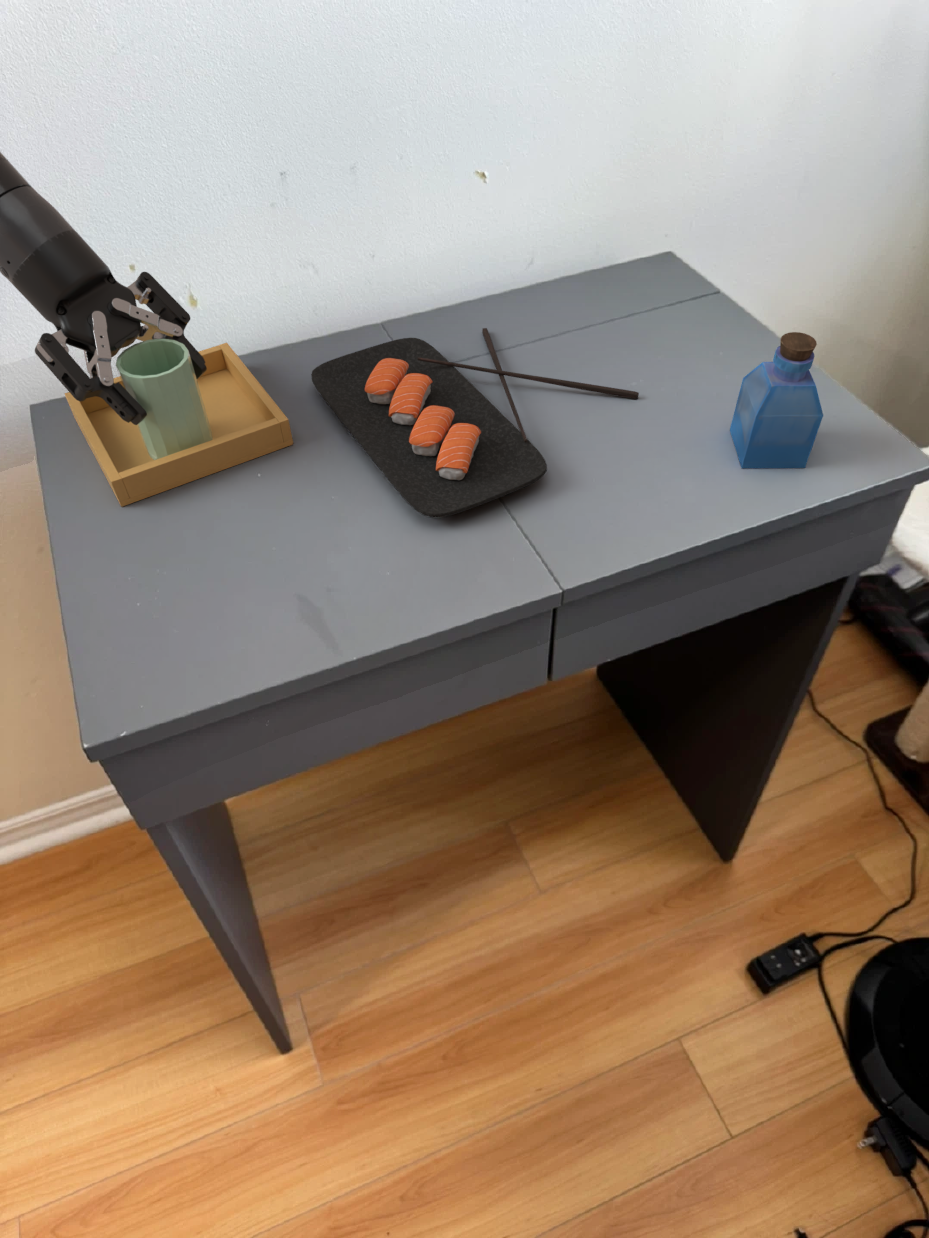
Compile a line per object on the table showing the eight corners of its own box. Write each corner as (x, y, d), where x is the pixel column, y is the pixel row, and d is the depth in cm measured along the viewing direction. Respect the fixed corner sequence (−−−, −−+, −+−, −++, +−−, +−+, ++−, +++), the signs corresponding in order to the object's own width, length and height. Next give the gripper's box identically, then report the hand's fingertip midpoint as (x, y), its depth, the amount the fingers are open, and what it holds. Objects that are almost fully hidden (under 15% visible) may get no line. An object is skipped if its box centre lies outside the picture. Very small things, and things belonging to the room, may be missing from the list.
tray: (121, 507, 84) (110, 482, 81) (74, 418, 93) (64, 393, 91) (293, 444, 90) (288, 419, 87) (232, 366, 99) (226, 342, 97)
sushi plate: (303, 383, 97) (298, 353, 94) (532, 310, 106) (533, 280, 103) (426, 539, 80) (424, 507, 77) (684, 435, 89) (691, 403, 86)
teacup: (159, 473, 86) (128, 385, 79) (139, 438, 90) (107, 352, 82) (222, 450, 88) (198, 363, 81) (200, 417, 92) (174, 331, 84)
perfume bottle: (805, 468, 86) (842, 360, 77) (741, 468, 86) (771, 360, 77) (790, 429, 90) (824, 323, 81) (729, 430, 90) (756, 323, 81)
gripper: (-12, 267, 72) (133, 420, 77) (110, 201, 80) (235, 343, 85) (-28, 312, 78) (108, 452, 83) (88, 245, 86) (206, 376, 91)
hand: (172, 396), depth 84 cm, fingers open, 8 cm apart
